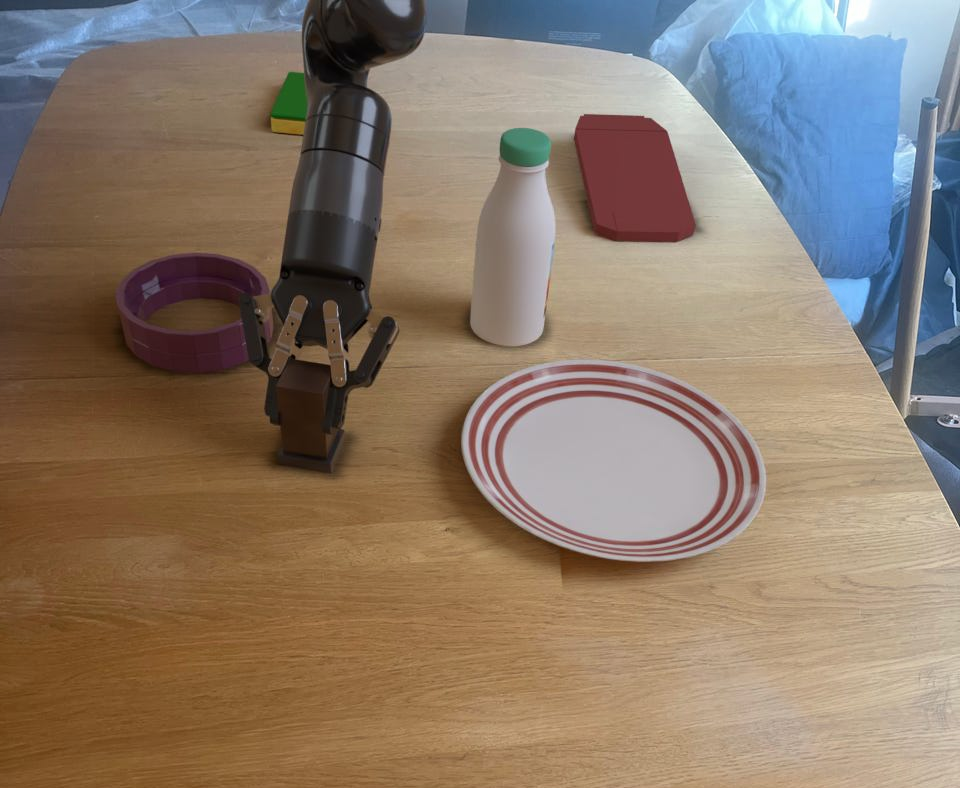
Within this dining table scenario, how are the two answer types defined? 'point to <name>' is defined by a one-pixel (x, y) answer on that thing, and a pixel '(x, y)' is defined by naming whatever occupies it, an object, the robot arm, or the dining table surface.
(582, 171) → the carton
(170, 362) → the ring
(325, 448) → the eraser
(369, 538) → the dining table surface
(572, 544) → the dinner plate
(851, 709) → the dining table surface
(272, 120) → the dish sponge
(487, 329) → the milk bottle
